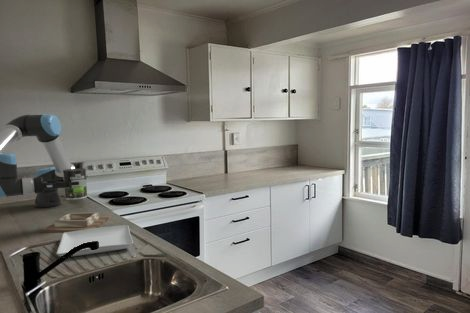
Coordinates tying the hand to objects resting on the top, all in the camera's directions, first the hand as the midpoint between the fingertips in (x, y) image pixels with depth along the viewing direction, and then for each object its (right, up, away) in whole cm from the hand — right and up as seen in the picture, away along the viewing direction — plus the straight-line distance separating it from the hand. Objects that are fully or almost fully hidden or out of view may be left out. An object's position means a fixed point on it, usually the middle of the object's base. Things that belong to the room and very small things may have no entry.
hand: (84, 180), depth 179 cm
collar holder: (-3, -22, 0) cm, 22 cm away
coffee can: (-3, -8, -1) cm, 9 cm away
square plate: (+18, -25, -31) cm, 43 cm away
